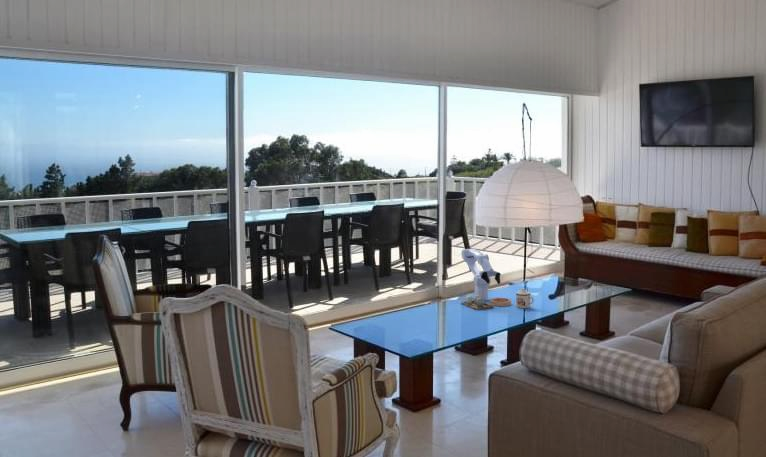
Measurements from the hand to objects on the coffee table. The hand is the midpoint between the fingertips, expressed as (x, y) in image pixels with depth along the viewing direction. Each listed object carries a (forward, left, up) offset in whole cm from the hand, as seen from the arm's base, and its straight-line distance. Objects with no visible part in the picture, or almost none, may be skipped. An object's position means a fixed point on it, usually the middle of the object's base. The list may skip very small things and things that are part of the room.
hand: (494, 282), depth 452 cm
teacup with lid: (+12, +15, -15) cm, 25 cm away
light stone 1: (-8, -14, -14) cm, 21 cm away
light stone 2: (-8, -8, -14) cm, 18 cm away
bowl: (-1, +5, -15) cm, 16 cm away
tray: (-3, -11, -15) cm, 19 cm away
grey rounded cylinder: (+1, -11, -14) cm, 18 cm away
